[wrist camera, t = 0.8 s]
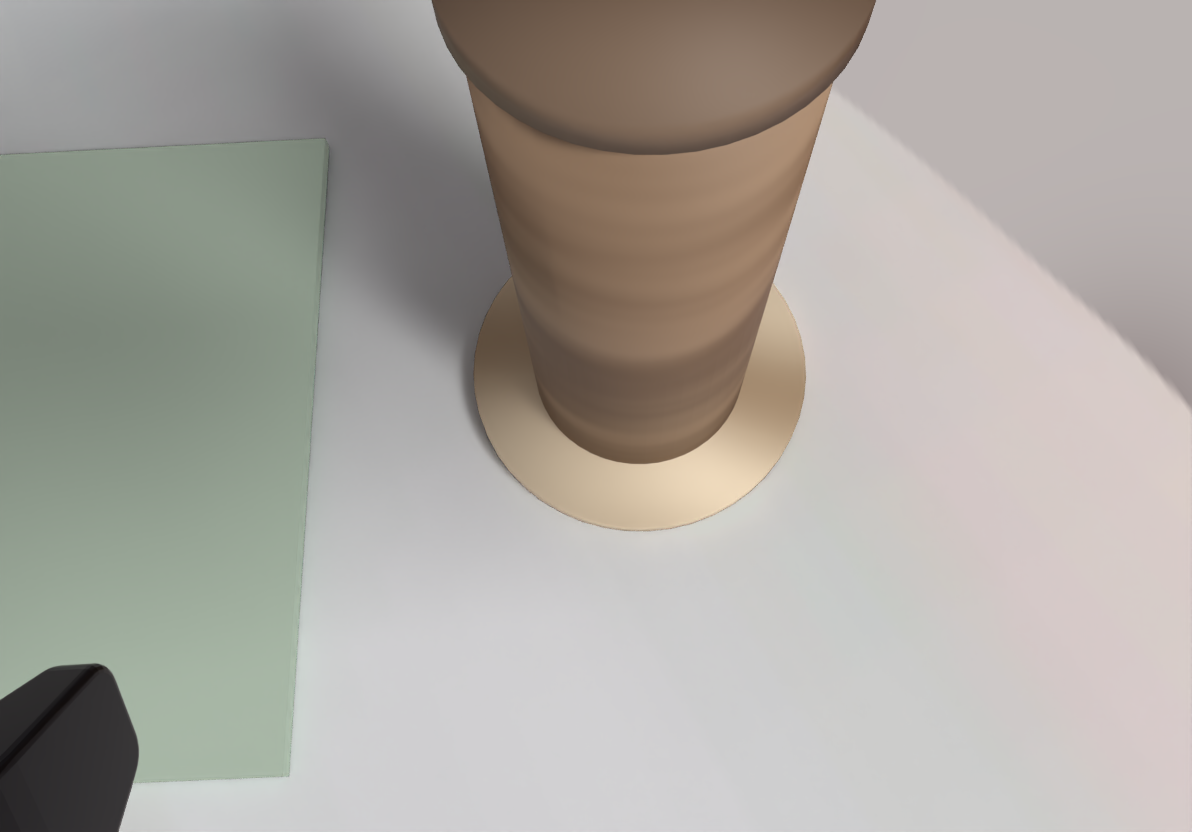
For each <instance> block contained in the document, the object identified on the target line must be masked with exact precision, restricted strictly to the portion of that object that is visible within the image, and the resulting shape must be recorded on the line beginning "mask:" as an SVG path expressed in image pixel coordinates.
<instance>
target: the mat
mask: <svg viewBox="0 0 1192 832" xmlns="http://www.w3.org/2000/svg"><path fill="white" fill-rule="evenodd" d="M328 160H329V146H328V143H327V141H326V139H325V138H320V139H300V140H281V141H261V142H242V143H222V144H203V145H183V146H164V147H144V148H124V149H105V150H85V151H66V152H46V153H27V154H7V155H0V700H1V699H2V698H4V697H5V696H7V695H8V694H10V693H11V692H13V691H14V690H16V689H17V688H19V687H20V686H22V685H23V684H25V683H26V682H28V681H29V680H31V679H33V678H34V677H36V676H37V675H39V674H40V673H42V672H43V671H45V670H47V669H48V668H51V667H55V666H60V665H75V664H91V663H97V664H101V665H104V666H106V667H107V668H108V669H109V670H110V671H111V672H112V673H113V675H114V677H115V679H116V682H117V685H118V687H119V690H120V692H121V695H122V698H123V700H124V703H125V706H126V708H127V711H128V714H129V716H130V719H131V721H132V724H133V727H134V729H135V732H136V735H137V739H138V744H139V760H138V767H137V771H136V775H135V778H134V781H133V783H144V782H168V781H191V780H215V779H238V778H262V777H285V776H289V769H290V753H291V738H292V722H293V707H294V691H295V675H296V660H297V644H298V628H299V613H300V597H301V582H302V566H303V550H304V535H305V519H306V504H307V488H308V472H309V457H310V441H311V425H312V410H313V394H314V379H315V363H316V347H317V332H318V316H319V300H320V285H321V269H322V254H323V238H324V222H325V207H326V191H327V176H328Z"/></svg>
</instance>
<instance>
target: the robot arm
mask: <svg viewBox="0 0 1192 832" xmlns="http://www.w3.org/2000/svg"><path fill="white" fill-rule="evenodd" d="M138 760H139V744H138V739H137V735H136V732H135V729H134V727H133V724H132V721H131V719H130V716H129V714H128V711H127V708H126V706H125V703H124V700H123V698H122V695H121V692H120V690H119V687H118V685H117V682H116V679H115V677H114V675H113V673H112V672H111V671H110V670H109V669H108V668H107V667H106V666H104V665H101V664H97V663H91V664H75V665H60V666H55V667H51V668H48V669H47V670H45V671H43V672H42V673H40V674H39V675H37V676H36V677H34V678H33V679H31V680H29V681H28V682H26V683H25V684H23V685H22V686H20V687H19V688H17V689H16V690H14V691H13V692H11V693H10V694H8V695H7V696H5V697H4V698H2V699H1V700H0V832H119V828H120V825H121V822H122V818H123V815H124V812H125V808H126V805H127V802H128V798H129V795H130V792H131V788H132V785H133V781H134V778H135V775H136V771H137V767H138Z"/></svg>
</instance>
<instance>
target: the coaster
mask: <svg viewBox="0 0 1192 832" xmlns="http://www.w3.org/2000/svg"><path fill="white" fill-rule="evenodd" d="M805 381H806V371H805V356H804V351H803V346H802V340H801V336H800V333H799V331H798V328H797V325H796V322H795V319H794V317H793V315H792V313H791V311H790V309H789V307H788V305H787V303H786V301H785V300H784V298H783V297H782V295H781V294H780V292H779V291H778V289H777V288H776V286H775V285H774V284H773V283H772V287H771V290H770V293H769V297H768V300H767V303H766V307H765V310H764V313H763V316H762V320H761V323H760V326H759V330H758V333H757V336H756V340H755V343H754V346H753V350H752V353H751V356H750V360H749V363H748V366H747V370H746V373H745V376H744V380H743V383H742V386H741V390H740V393H739V396H738V399H737V401H736V404H735V406H734V408H733V410H732V412H731V414H730V415H729V417H728V419H727V420H726V422H725V423H724V424H723V425H722V427H721V428H720V429H719V430H718V431H717V432H716V433H715V434H714V435H713V436H712V437H711V438H710V439H709V440H708V441H706V442H705V443H704V444H702V445H701V446H699V447H698V448H696V449H694V450H693V451H691V452H689V453H687V454H685V455H682V456H680V457H677V458H674V459H672V460H667V461H663V462H659V463H650V464H628V463H621V462H615V461H611V460H608V459H604V458H601V457H599V456H597V455H594V454H592V453H590V452H588V451H586V450H584V449H583V448H581V447H579V446H578V445H576V444H575V443H574V442H573V441H571V440H570V439H569V438H567V437H566V436H565V435H564V434H563V433H562V432H561V431H560V430H559V429H558V427H557V426H556V425H555V423H554V422H553V421H552V419H551V418H550V416H549V415H548V413H547V411H546V409H545V407H544V405H543V403H542V400H541V398H540V395H539V391H538V387H537V382H536V378H535V374H534V369H533V365H532V361H531V356H530V352H529V347H528V343H527V339H526V334H525V330H524V326H523V321H522V317H521V312H520V308H519V304H518V299H517V295H516V291H515V286H514V282H513V278H512V277H511V278H510V279H509V280H508V281H507V282H506V283H505V285H504V286H503V288H502V289H501V291H500V292H499V293H498V295H497V296H496V298H495V299H494V301H493V303H492V305H491V307H490V309H489V311H488V313H487V314H486V317H485V319H484V322H483V325H482V328H481V330H480V333H479V337H478V342H477V346H476V351H475V360H474V387H475V396H476V401H477V405H478V410H479V414H480V417H481V420H482V422H483V425H484V428H485V430H486V433H487V436H488V438H489V440H490V442H491V443H492V445H493V447H494V449H495V451H496V453H497V455H498V456H499V458H500V459H501V460H502V462H503V463H504V465H505V466H506V467H507V469H508V470H509V471H510V473H511V474H512V475H513V476H514V477H515V478H516V479H517V480H518V481H519V482H520V483H521V484H522V485H523V486H524V487H525V488H526V489H527V490H528V491H530V492H531V493H532V494H533V495H535V496H536V497H537V498H538V499H540V500H541V501H542V502H544V503H546V504H547V505H549V506H551V507H552V508H554V509H556V510H557V511H559V512H561V513H563V514H565V515H568V516H570V517H572V518H575V519H577V520H579V521H582V522H585V523H589V524H592V525H596V526H599V527H603V528H610V529H616V530H623V531H655V530H664V529H672V528H676V527H680V526H684V525H688V524H692V523H695V522H697V521H700V520H703V519H705V518H708V517H710V516H713V515H715V514H717V513H719V512H720V511H722V510H724V509H726V508H728V507H730V506H731V505H733V504H734V503H736V502H737V501H738V500H740V499H741V498H743V497H744V496H745V495H747V494H748V493H749V492H751V491H752V490H753V489H754V488H755V487H756V486H757V485H758V484H759V483H760V482H761V481H762V480H763V479H764V478H765V477H766V476H767V474H768V473H769V472H770V471H771V469H772V468H773V467H774V465H775V464H776V463H777V462H778V460H779V459H780V457H781V455H782V453H783V452H784V450H785V448H786V446H787V445H788V443H789V441H790V439H791V437H792V434H793V432H794V429H795V427H796V424H797V422H798V419H799V416H800V412H801V408H802V404H803V400H804V392H805Z"/></svg>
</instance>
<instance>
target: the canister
mask: <svg viewBox="0 0 1192 832" xmlns="http://www.w3.org/2000/svg"><path fill="white" fill-rule="evenodd" d="M875 2H876V0H432V4H433V8H434V12H435V16H436V20H437V24H438V27H439V29H440V31H441V34H442V36H443V39H444V41H445V44H446V46H447V48H448V49H449V51H450V53H451V54H452V56H453V58H454V59H455V61H456V63H457V64H458V66H459V67H460V69H461V70H462V71H463V72H464V73H465V75H466V77H467V81H468V85H469V90H470V94H471V98H472V103H473V107H474V112H475V116H476V120H477V125H478V129H479V133H480V138H481V142H482V146H483V151H484V155H485V160H486V164H487V168H488V173H489V177H490V181H491V186H492V190H493V195H494V199H495V203H496V208H497V212H498V216H499V221H500V225H501V229H502V234H503V238H504V243H505V247H506V251H507V256H508V260H509V264H510V269H511V273H512V278H513V282H514V286H515V291H516V295H517V299H518V304H519V308H520V312H521V317H522V321H523V326H524V330H525V334H526V339H527V343H528V347H529V352H530V356H531V361H532V365H533V369H534V374H535V378H536V382H537V387H538V391H539V395H540V398H541V400H542V403H543V405H544V407H545V409H546V411H547V413H548V415H549V416H550V418H551V419H552V421H553V422H554V423H555V425H556V426H557V427H558V429H559V430H560V431H561V432H562V433H563V434H564V435H565V436H566V437H567V438H569V439H570V440H571V441H573V442H574V443H575V444H576V445H578V446H579V447H581V448H583V449H584V450H586V451H588V452H590V453H592V454H594V455H597V456H599V457H601V458H604V459H608V460H611V461H615V462H621V463H628V464H650V463H659V462H663V461H667V460H672V459H674V458H677V457H680V456H682V455H685V454H687V453H689V452H691V451H693V450H694V449H696V448H698V447H699V446H701V445H702V444H704V443H705V442H706V441H708V440H709V439H710V438H711V437H712V436H713V435H714V434H715V433H716V432H717V431H718V430H719V429H720V428H721V427H722V425H723V424H724V423H725V422H726V420H727V419H728V417H729V415H730V414H731V412H732V410H733V408H734V406H735V404H736V401H737V399H738V396H739V393H740V390H741V386H742V383H743V380H744V376H745V373H746V370H747V366H748V363H749V360H750V356H751V353H752V350H753V346H754V343H755V340H756V336H757V333H758V330H759V326H760V323H761V320H762V316H763V313H764V310H765V307H766V303H767V300H768V297H769V293H770V290H771V287H772V283H773V280H774V277H775V273H776V270H777V267H778V263H779V260H780V257H781V253H782V250H783V247H784V243H785V240H786V237H787V233H788V230H789V227H790V223H791V220H792V217H793V213H794V210H795V207H796V203H797V200H798V197H799V193H800V190H801V187H802V183H803V180H804V177H805V174H806V170H807V167H808V164H809V160H810V157H811V154H812V150H813V147H814V144H815V140H816V137H817V134H818V130H819V127H820V124H821V120H822V117H823V114H824V110H825V107H826V104H827V100H828V97H829V94H830V90H831V87H832V84H833V81H834V80H835V79H836V78H837V77H838V76H839V74H840V73H841V72H842V71H843V70H844V69H845V67H846V66H847V64H848V63H849V61H850V59H851V58H852V56H853V55H854V53H855V52H856V50H857V48H858V46H859V44H860V42H861V40H862V38H863V35H864V33H865V31H866V28H867V26H868V23H869V20H870V17H871V14H872V11H873V8H874V5H875Z"/></svg>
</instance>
